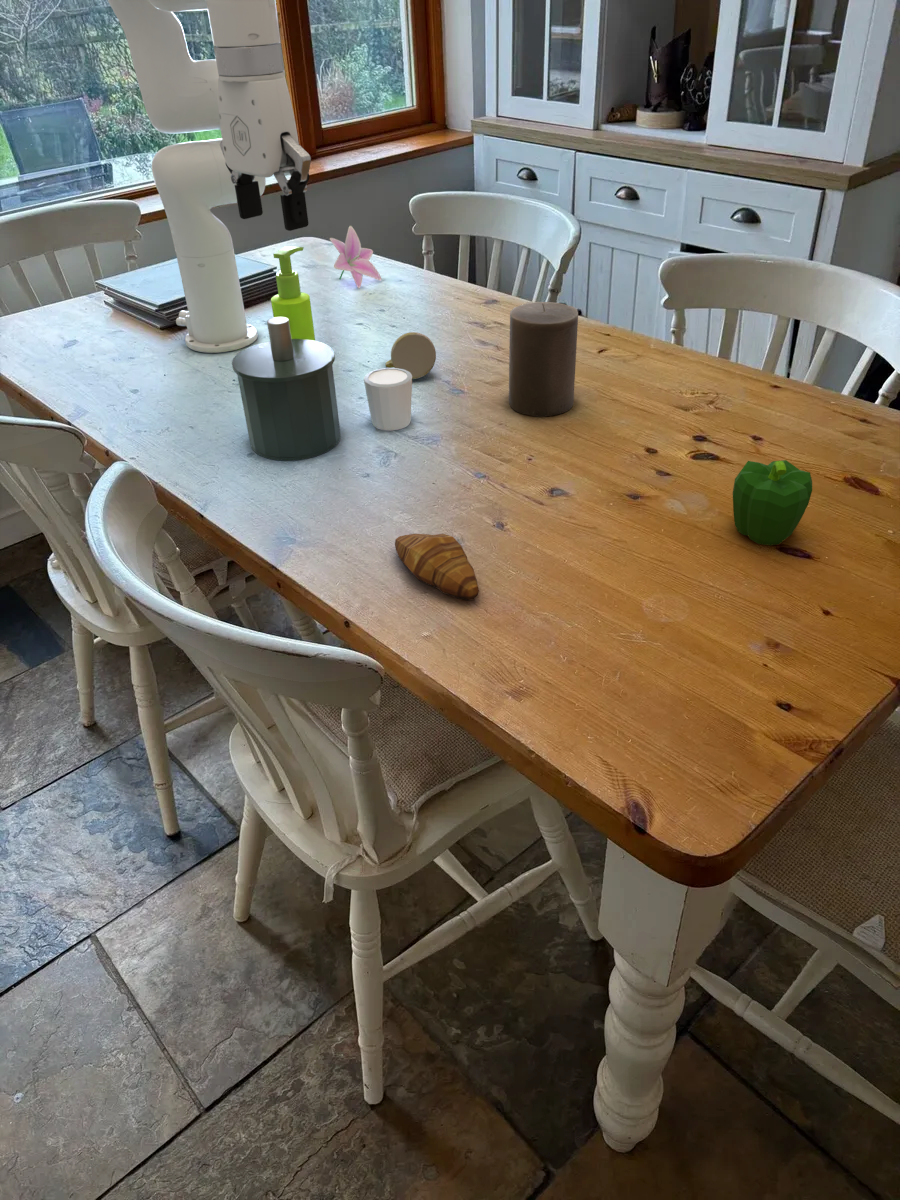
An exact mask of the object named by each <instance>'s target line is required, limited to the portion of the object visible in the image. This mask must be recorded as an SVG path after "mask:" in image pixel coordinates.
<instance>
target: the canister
mask: <svg viewBox="0 0 900 1200" xmlns="http://www.w3.org/2000/svg"><path fill="white" fill-rule="evenodd" d="M333 368H334V367H333V364H332V365H331V366H330V367H329V368H328V369H326V370H324V371H323V372H321V373H319V374H316V375H313V376H310V377H307V378H303V379H299V380H293V381H285V382H260V381H253V380H249V379H246V378H243V377H241V376H239V375H237V374H236V376H237V381H238V387H239V392H240V397H241V403H242V408H243V413H244V418H245V424H246V429H247V434H248V435H247V436H248V439H249V444H250V446H251V450H252V451H253V452H254V453H255V454H257V455H259V456H260V457H262V458H265V459H269V460H274V461H281V462H283V461H285V462H288V461H289V462H291V461H293V462H294V461H302V460H307V459H312V458H316V457H318V456H321V455H323V454H326V453H327V452H329V451H331V450H332V449H334V448H335V447H336V446H337V445H338V444H339V443H340V440H341V427H340V419H339V410H338V401H337V394H336V385H335V376H334V369H333Z"/></svg>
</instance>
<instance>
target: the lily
mask: <svg viewBox="0 0 900 1200" xmlns="http://www.w3.org/2000/svg"><path fill="white" fill-rule="evenodd" d="M329 241H330V243H332V245H333V246H334V248H335V249H336V250H337V252H338V253H339V255H338V257H337V258H336V260H335V262H334V263H333V268H334V269H335V270H339V271H341V273H340V276H339V278H338V279H339V280H341V279H342V277H343V275H344V272H350V274H351V276H352V279H353V281H354V283H355V285H356V287H357V289H360V288H361V287H362V283H363V280H364V279H363V278H364V276H366V277H369V278H372V279H374V280H377V281H379V282H380V281H381V282H382V281H383V279H382V275H380V272H379V271H378V269H377V268H376V266H375V265H374V264H373V263H372V262H371V261H370V260H371V258H372V256H373V254H374V250H373V249H371V248H366V247H362V244H361V241H360V238H359V236H358V234H357V232H356V230H355V228H353V226H352V225H349V227H348V228H347V233H346V236H345V240H344V241H345V242H343V241H342V240H339V239H337V238H334V237H329Z"/></svg>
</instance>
